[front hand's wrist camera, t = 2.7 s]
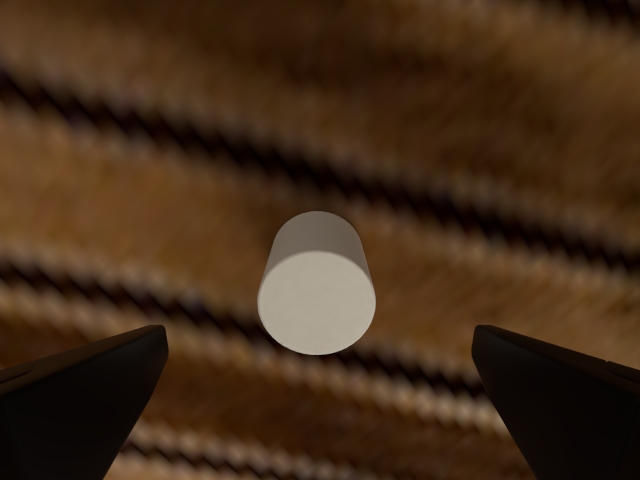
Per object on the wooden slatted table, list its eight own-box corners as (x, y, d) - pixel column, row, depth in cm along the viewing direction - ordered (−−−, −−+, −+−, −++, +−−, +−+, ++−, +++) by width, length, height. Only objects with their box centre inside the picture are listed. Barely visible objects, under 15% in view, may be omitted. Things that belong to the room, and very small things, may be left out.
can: (319, 309, 19) (319, 375, 15) (253, 255, 18) (232, 308, 14) (381, 251, 18) (400, 303, 14) (314, 191, 17) (312, 225, 13)
